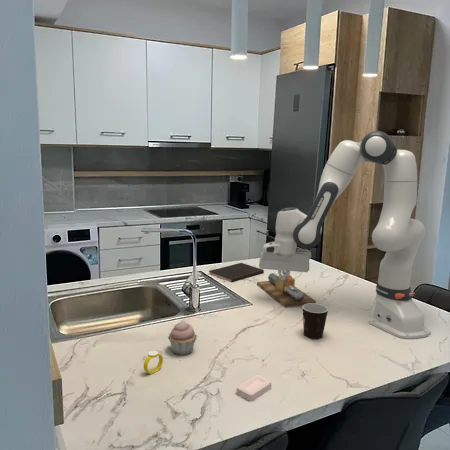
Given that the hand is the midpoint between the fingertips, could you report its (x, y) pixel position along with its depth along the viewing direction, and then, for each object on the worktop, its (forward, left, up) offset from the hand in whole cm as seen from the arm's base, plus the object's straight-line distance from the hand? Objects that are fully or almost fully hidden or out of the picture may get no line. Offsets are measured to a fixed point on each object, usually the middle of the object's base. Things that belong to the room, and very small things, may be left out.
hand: (282, 280), depth 177 cm
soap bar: (-54, +36, -11) cm, 66 cm away
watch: (-38, +60, -10) cm, 71 cm away
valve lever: (+3, -4, -1) cm, 5 cm away
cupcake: (-28, +49, -10) cm, 57 cm away
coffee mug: (-31, +4, -10) cm, 32 cm away
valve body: (+9, -6, -10) cm, 15 cm away
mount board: (+9, -6, -10) cm, 15 cm away
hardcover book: (+42, +4, -11) cm, 43 cm away
